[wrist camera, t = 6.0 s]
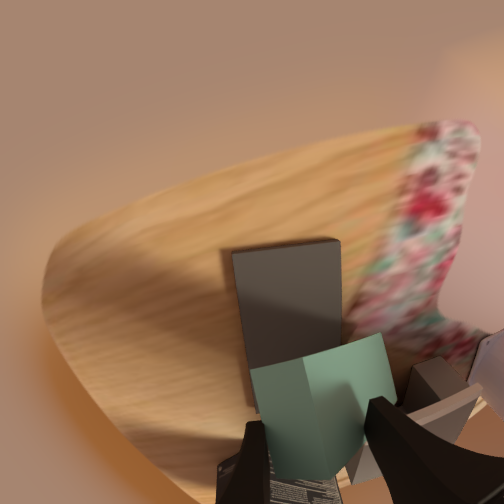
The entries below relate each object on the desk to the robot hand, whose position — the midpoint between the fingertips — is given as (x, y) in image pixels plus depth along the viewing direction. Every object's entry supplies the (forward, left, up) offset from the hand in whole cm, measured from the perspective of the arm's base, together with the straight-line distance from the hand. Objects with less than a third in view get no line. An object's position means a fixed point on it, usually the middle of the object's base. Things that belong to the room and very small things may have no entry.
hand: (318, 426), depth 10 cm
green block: (-2, -1, -4) cm, 4 cm away
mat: (0, 0, -8) cm, 8 cm away
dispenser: (-8, +8, -8) cm, 14 cm away
